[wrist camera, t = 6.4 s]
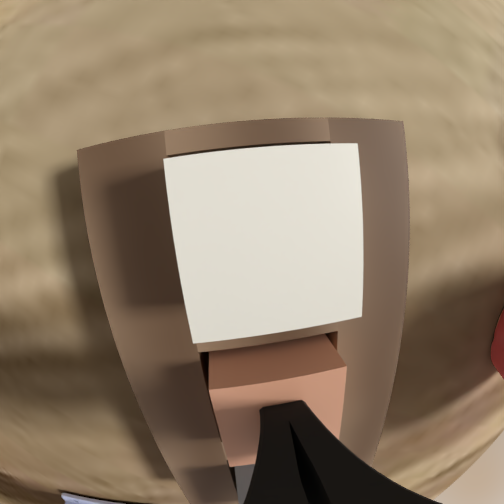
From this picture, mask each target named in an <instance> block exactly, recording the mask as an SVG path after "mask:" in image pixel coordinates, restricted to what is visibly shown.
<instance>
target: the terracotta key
mask: <svg viewBox="0 0 504 504" xmlns="http://www.w3.org/2000/svg"><path fill="white" fill-rule="evenodd" d="M346 372H347V365H346V364H345V362H344V361H343V359H342V358H341V356H340V355H339V354H338V352H337V351H336V349H335V348H334V346H333V345H332V343H331V342H330V340H329V339H328V337H327V336H326V334H325V333H324V334H319V335H314V336H309V337H303V338H298V339H292V340H286V341H280V342H274V343H268V344H261V345H254V346H247V347H240V348H232V349H224V350H216V351H209V393H210V397H211V401H212V405H213V409H214V413H215V417H216V421H217V424H218V428H219V432H220V435H221V439H222V442H223V446H224V449H225V453H226V456H227V460H228V463H229V466H230V467H233V466H242V465H250V464H255V462H256V456H257V450H258V444H259V436H260V413H259V410H260V409H261V408H262V407H266V406H272V405H278V404H283V403H289V402H294V401H299V400H303V401H304V402H306V404H307V405H308V406H309V408H310V409H311V410H312V412H313V413H314V414H315V415H316V416H317V418H318V419H319V420H320V421H321V422H322V423H323V424H324V425H325V427H326V428H327V429H328V430H329V431H330V432H331V433H332V434H333V435H334V436H335V437H336V438H337V439H338V440H339V435H340V428H341V421H342V412H343V404H344V394H345V384H346Z"/></svg>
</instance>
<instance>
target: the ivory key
mask: <svg viewBox="0 0 504 504" xmlns="http://www.w3.org/2000/svg"><path fill="white" fill-rule="evenodd" d="M163 161H164V170H165V179H166V188H167V196H168V203H169V211H170V218H171V225H172V232H173V239H174V245H175V251H176V257H177V263H178V269H179V275H180V280H181V286H182V291H183V297H184V302H185V307H186V312H187V317H188V322H189V327H190V331H191V336H192V341H193V344H194V343H204V342H213V341H221V340H230V339H237V338H245V337H252V336H259V335H266V334H272V333H278V332H285V331H291V330H297V329H302V328H308V327H313V326H319V325H324V324H329V323H334V322H339V321H344V320H349V319H353V318H358V317H362V301H363V212H362V192H361V176H360V164H359V153H358V143H334V144H302V145H283V146H268V147H255V148H244V149H234V150H224V151H216V152H207V153H200V154H192V155H185V156H178V157H172V158H165V159H163Z"/></svg>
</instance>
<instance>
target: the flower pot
mask: <svg viewBox="0 0 504 504" xmlns="http://www.w3.org/2000/svg"><path fill="white" fill-rule="evenodd" d="M491 360H492V363H493V365H494V366H495V368H496V369H497V371H498V372H499V373H500V375H501V376H502V377H503V379H504V308H503V310H502V313H501V315H500V317H499V320H498V322H497V326H496V329H495V333H494V340H493V341H492V345H491Z"/></svg>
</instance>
